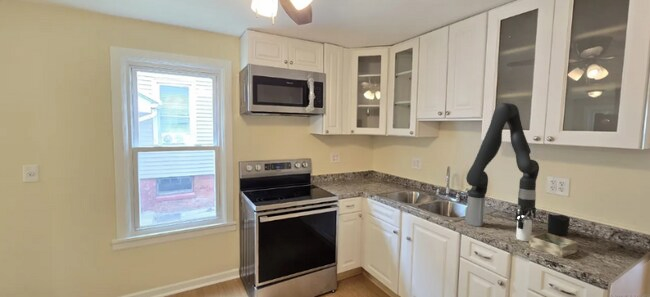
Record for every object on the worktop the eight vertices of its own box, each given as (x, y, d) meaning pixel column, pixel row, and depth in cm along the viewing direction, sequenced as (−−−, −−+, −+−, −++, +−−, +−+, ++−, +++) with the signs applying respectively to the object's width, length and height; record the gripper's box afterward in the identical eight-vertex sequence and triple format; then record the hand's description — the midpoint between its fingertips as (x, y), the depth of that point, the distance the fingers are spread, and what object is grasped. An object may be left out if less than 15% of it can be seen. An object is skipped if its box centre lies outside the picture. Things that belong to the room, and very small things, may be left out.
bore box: (528, 246, 144) (529, 236, 144) (543, 241, 150) (544, 232, 150) (561, 257, 131) (562, 247, 131) (576, 252, 138) (577, 242, 137)
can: (524, 237, 156) (526, 215, 155) (533, 242, 149) (535, 219, 148) (513, 237, 155) (514, 215, 154) (521, 242, 149) (523, 219, 148)
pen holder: (564, 237, 156) (566, 220, 155) (544, 232, 163) (545, 215, 163) (570, 234, 161) (572, 217, 160) (550, 229, 169) (551, 212, 168)
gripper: (526, 194, 157) (525, 223, 158) (511, 197, 150) (509, 227, 151) (542, 197, 150) (540, 227, 151) (526, 200, 144) (524, 231, 145)
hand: (525, 227), depth 151 cm, fingers open, 8 cm apart
